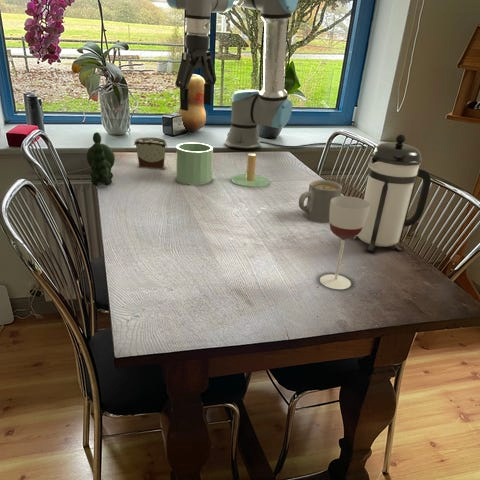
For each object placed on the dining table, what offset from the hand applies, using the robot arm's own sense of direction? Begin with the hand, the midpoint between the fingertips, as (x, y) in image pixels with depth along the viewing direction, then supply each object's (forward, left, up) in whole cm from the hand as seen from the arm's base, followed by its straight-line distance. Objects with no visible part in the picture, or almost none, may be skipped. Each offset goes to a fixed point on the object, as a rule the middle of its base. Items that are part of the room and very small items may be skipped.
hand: (196, 107), depth 167 cm
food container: (+6, -21, -25) cm, 33 cm away
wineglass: (+8, +82, -25) cm, 86 cm away
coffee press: (-20, +71, -25) cm, 78 cm away
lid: (-17, +11, -24) cm, 31 cm away
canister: (0, 0, -25) cm, 25 cm away
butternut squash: (-37, -66, -25) cm, 80 cm away
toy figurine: (+30, -12, -25) cm, 41 cm away
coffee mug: (-17, +47, -25) cm, 56 cm away
